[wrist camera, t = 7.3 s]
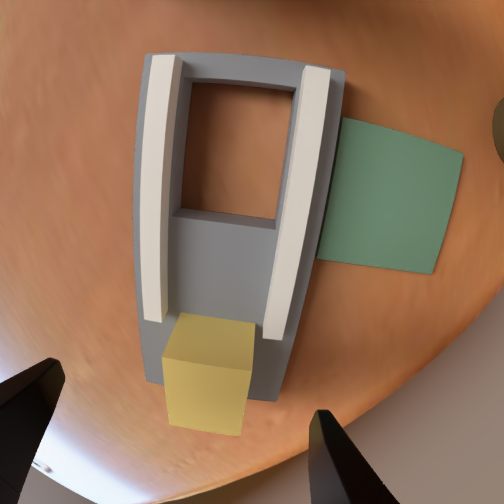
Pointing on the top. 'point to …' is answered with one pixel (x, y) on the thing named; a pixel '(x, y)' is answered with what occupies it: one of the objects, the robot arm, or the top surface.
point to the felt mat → (387, 198)
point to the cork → (499, 129)
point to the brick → (208, 373)
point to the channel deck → (223, 224)
